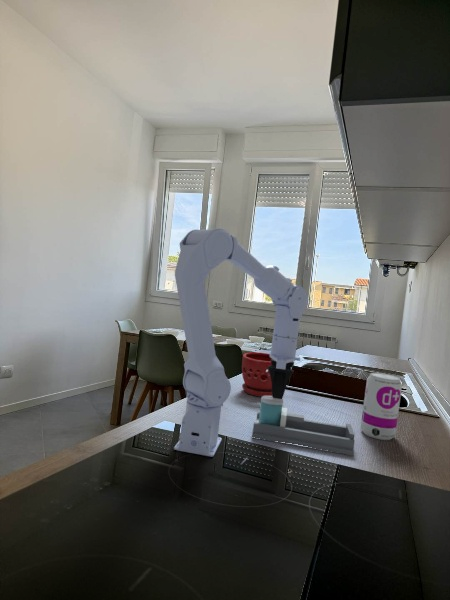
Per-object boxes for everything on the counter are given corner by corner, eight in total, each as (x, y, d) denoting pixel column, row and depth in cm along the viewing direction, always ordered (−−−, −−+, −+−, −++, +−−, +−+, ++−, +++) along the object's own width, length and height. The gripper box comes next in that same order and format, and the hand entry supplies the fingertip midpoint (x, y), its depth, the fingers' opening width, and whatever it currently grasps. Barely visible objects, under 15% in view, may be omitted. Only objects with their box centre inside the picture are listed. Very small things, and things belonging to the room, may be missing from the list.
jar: (277, 433, 95) (281, 403, 95) (256, 429, 97) (259, 399, 97) (281, 427, 100) (284, 398, 100) (260, 422, 102) (263, 394, 101)
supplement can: (399, 442, 102) (408, 381, 101) (365, 438, 102) (373, 377, 101) (387, 430, 110) (395, 374, 109) (356, 427, 110) (363, 370, 109)
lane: (353, 456, 90) (355, 437, 90) (251, 438, 94) (253, 420, 94) (347, 438, 101) (349, 421, 101) (256, 422, 105) (258, 406, 104)
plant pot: (236, 386, 139) (241, 350, 139) (276, 389, 140) (280, 354, 139) (240, 397, 126) (245, 357, 126) (283, 401, 127) (288, 362, 126)
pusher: (302, 437, 94) (304, 418, 94) (279, 433, 95) (281, 415, 95) (302, 428, 100) (304, 410, 100) (280, 424, 101) (282, 407, 101)
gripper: (303, 342, 90) (295, 405, 90) (302, 335, 104) (295, 389, 105) (270, 338, 91) (262, 399, 91) (273, 331, 105) (267, 384, 106)
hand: (278, 393), depth 98 cm, fingers open, 7 cm apart
